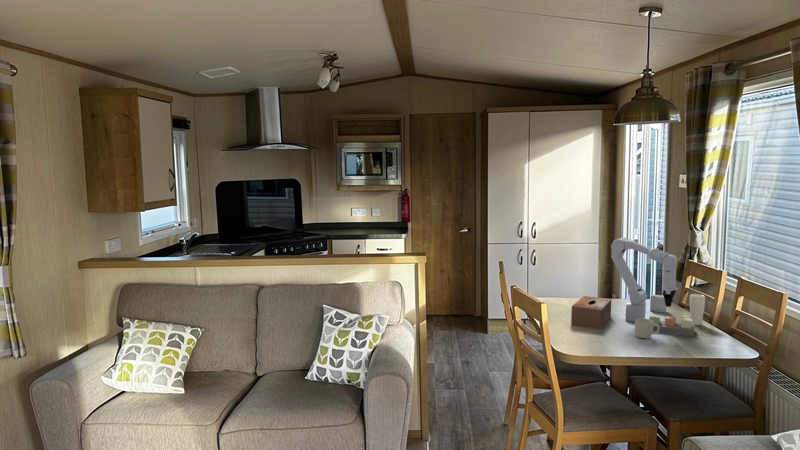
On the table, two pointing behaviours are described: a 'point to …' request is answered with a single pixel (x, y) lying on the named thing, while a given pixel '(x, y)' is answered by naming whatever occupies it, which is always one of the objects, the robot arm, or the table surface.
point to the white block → (686, 323)
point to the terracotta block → (670, 321)
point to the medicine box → (658, 304)
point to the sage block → (655, 318)
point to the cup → (645, 328)
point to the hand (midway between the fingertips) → (668, 305)
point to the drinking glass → (697, 308)
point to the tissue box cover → (591, 312)
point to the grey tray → (675, 329)
